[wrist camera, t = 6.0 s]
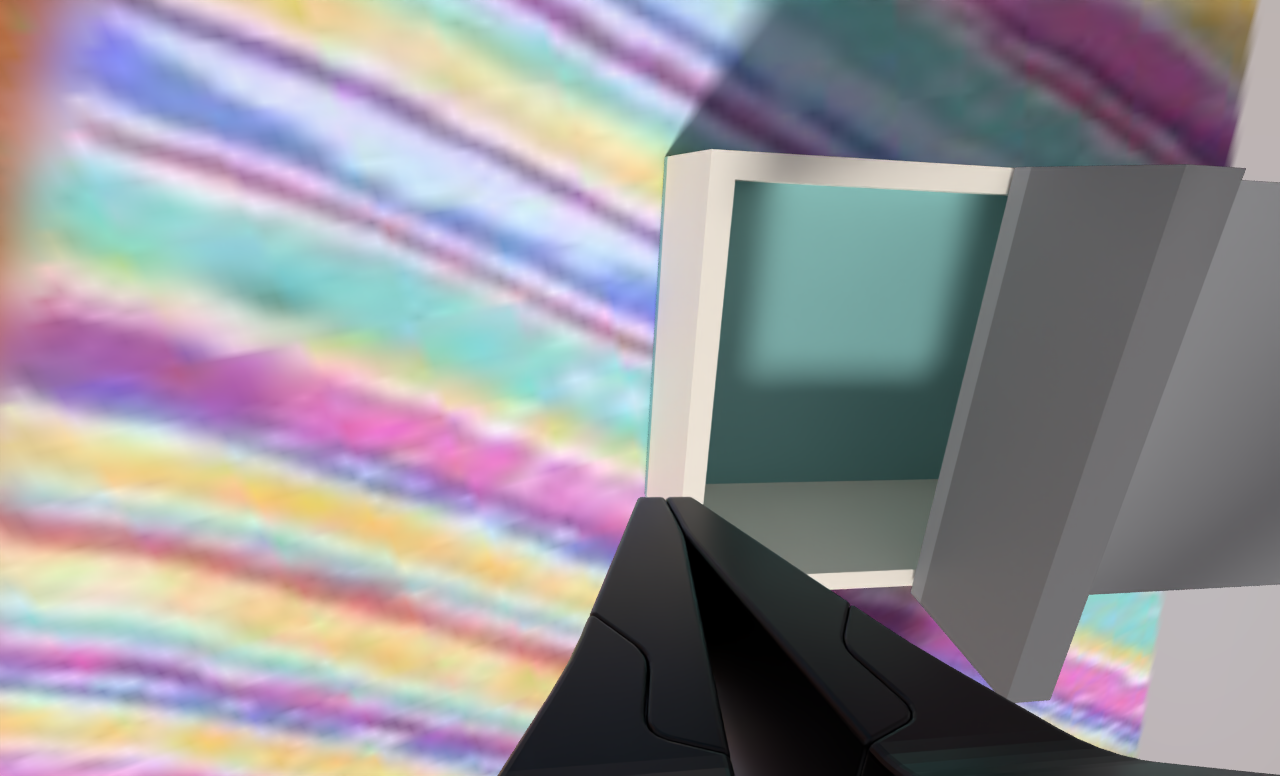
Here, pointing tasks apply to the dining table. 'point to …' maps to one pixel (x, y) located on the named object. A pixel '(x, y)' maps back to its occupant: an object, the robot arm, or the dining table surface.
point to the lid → (1109, 411)
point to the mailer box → (816, 347)
